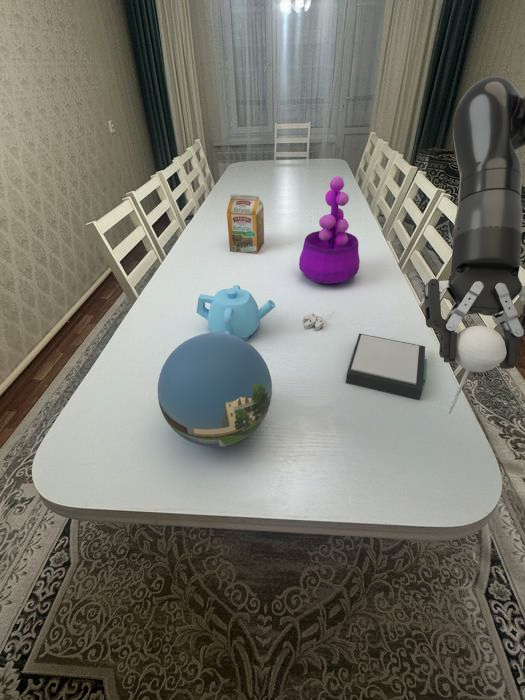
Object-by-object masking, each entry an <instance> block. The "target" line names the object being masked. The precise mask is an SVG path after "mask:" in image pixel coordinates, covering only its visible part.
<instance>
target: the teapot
mask: <svg viewBox="0 0 525 700" xmlns="http://www.w3.org/2000/svg"><path fill="white" fill-rule="evenodd" d="M206 303H207V304H210V305H209V308H207V307H206ZM196 305H197V306H196V314H197V315H199V316H200V317H202V318H204V319H205V320H206V321H207V327H208V330H209V331H210V332H211V333H225V334H230V335H233V336H236V337H239V338H241V339H243V340H244V341H247V340H248V339H249V338H250V336H252V335H253V334H254V333H255V332H256V330H257V329H258V328H259V325H260V321H261V320H262V319H263V318H264V317H265V316H267V314H269V313H270V312H271V311H272V310H274V309H275V308H276V303H275V302H274V301H273V300H272V299H269V300H267V302H266V303H264V304H263V306H261V307H260V308H259V306H258V303H257V301H256V300H255V298H254V296H253V294H251V292H250V291H248V290H247V289H243V288H242V289H241V286H240V285H237V284H235V285H233V286H232V287H231V288H223V289H220V290H218V291H217V292H216V293H215V295H208V294H202V293H200V294H199V296H198V300H197V304H196Z"/></svg>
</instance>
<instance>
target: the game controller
mask: <svg viewBox="0 0 525 700" xmlns="http://www.w3.org/2000/svg"><path fill="white" fill-rule="evenodd" d="M334 313H335V311H333V312H332V313H331V314H329V315H328V317H330V316H332V315H333V314H334ZM323 317H324V315H322V316H321V317H320V316H319V315H317V314H315V313H314V312H312V313H307V314H306V315H304V316H303V317H302V318H303V322H304V324H303V325H304V329H305V330H308V329H310V328H312V327H315V330H316V331H319V330H320V329H322V328H323V327H324V320H323Z"/></svg>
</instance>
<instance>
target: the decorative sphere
mask: <svg viewBox="0 0 525 700" xmlns="http://www.w3.org/2000/svg"><path fill="white" fill-rule="evenodd" d="M272 397H273V383H272V376H271V373H270V370H269V367H268V365H267V363H266V361H265V359H264V358H263V356H262V355H261V353H260V352H259V351H258V350H257V349H256V348H255V347H254V346H253V345H251V343H249V342H248V341H247V340H243V339H241V338H239V337H236V336H233V335H230V334H225V333H213V332H206V333H202V334H197V335H195V336H192V337H191V338H189V339H187V340H184V341H183V342H182V343H181V344H179V345H178V346H177V347H175V349H174V350H173V351H172V352H171V353H170V354H169V355H168V357H167V358H166V360H165V362H164V364H163V366H162V368H161V370H160V373H159V377H158V382H157V400H158V405H159V409H160V411H161V413H162V416H163V418H164V419H165V422H167V425H168V426H170V428H171V429H172V430H173V431H174V432H175V433H176V434H177V435H178V436H180V437H181V438H183V439H184V440H186V441H188V442H190V443H192V444H194V445H198V446H200V447H201V446H202V447H207V448H208V447H209V448H222V447H227V446H231V445H234V444H236V443H239V442H241V441H243V440H244V439H246V438H248V437H249V436H250V435H251V434H252V433H254V432H255V431H256V430H257V429H258V428H259V427H260V425H261V424H262V423H263V421H264V419H265V418H266V416H267V413H268V411H269V409H270V406H271V402H272Z"/></svg>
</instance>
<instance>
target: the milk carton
mask: <svg viewBox="0 0 525 700" xmlns="http://www.w3.org/2000/svg"><path fill="white" fill-rule="evenodd" d="M264 216H265V213H264V203H263V202H262V200H261V197H260V195H258V194H240V193H238V194H237V193H231V194H230V197H229V202H228V205H227V210H226V220H227V221H226V222H227V233H228V244H229V245H228V246H229V252H231V253H241V254H252V255H258V253H259V252H260V251H261V249H262V247H263V246H264V245H265V218H264Z"/></svg>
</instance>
